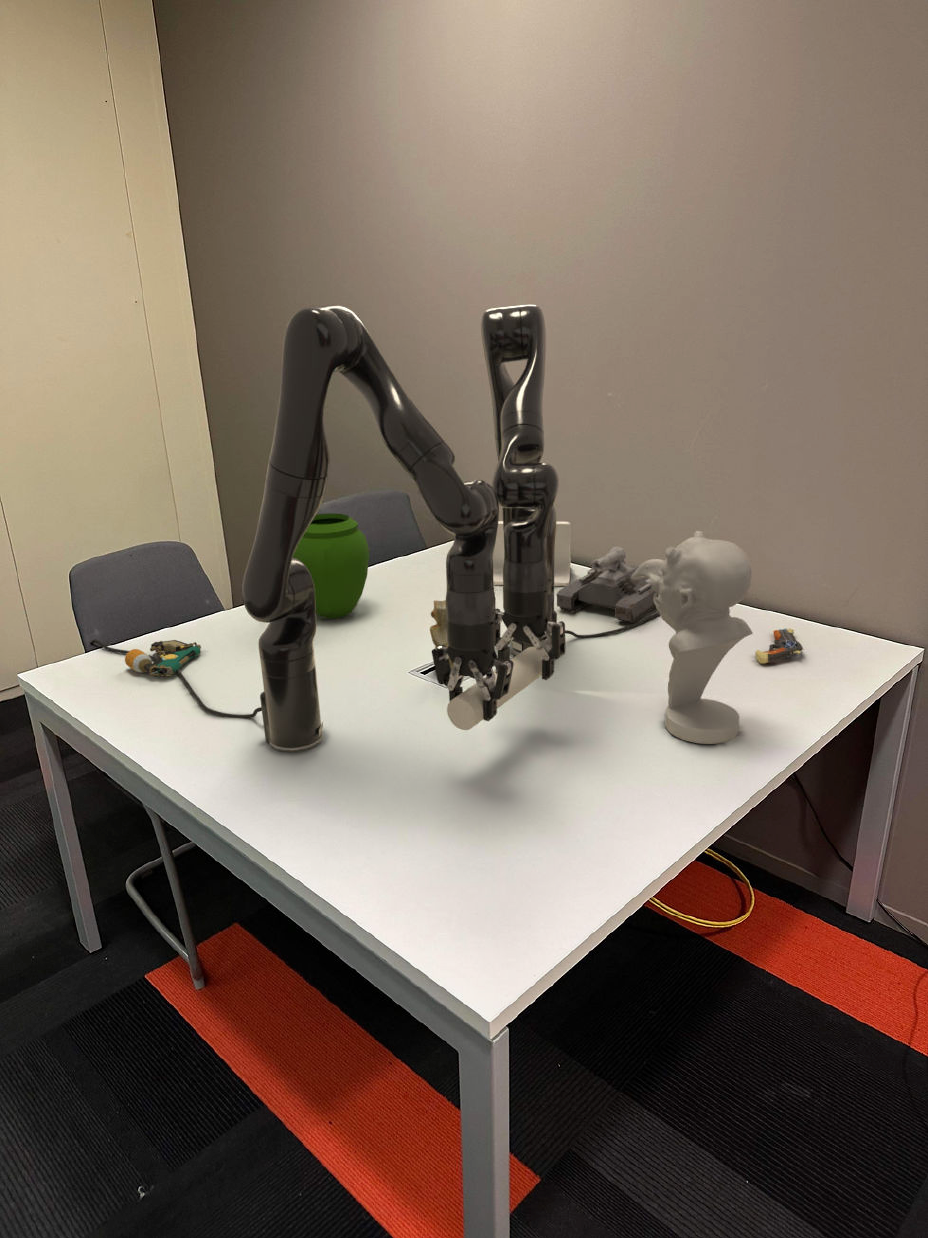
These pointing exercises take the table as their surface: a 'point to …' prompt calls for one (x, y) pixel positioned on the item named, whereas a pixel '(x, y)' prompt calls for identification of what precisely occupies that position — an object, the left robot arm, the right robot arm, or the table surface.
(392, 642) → the table surface
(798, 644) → the toy gun
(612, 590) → the toy
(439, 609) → the sculpture
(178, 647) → the spray gun
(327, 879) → the table surface
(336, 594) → the vase
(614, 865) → the table surface
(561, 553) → the tablet stand
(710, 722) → the bust sculpture
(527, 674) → the rod
